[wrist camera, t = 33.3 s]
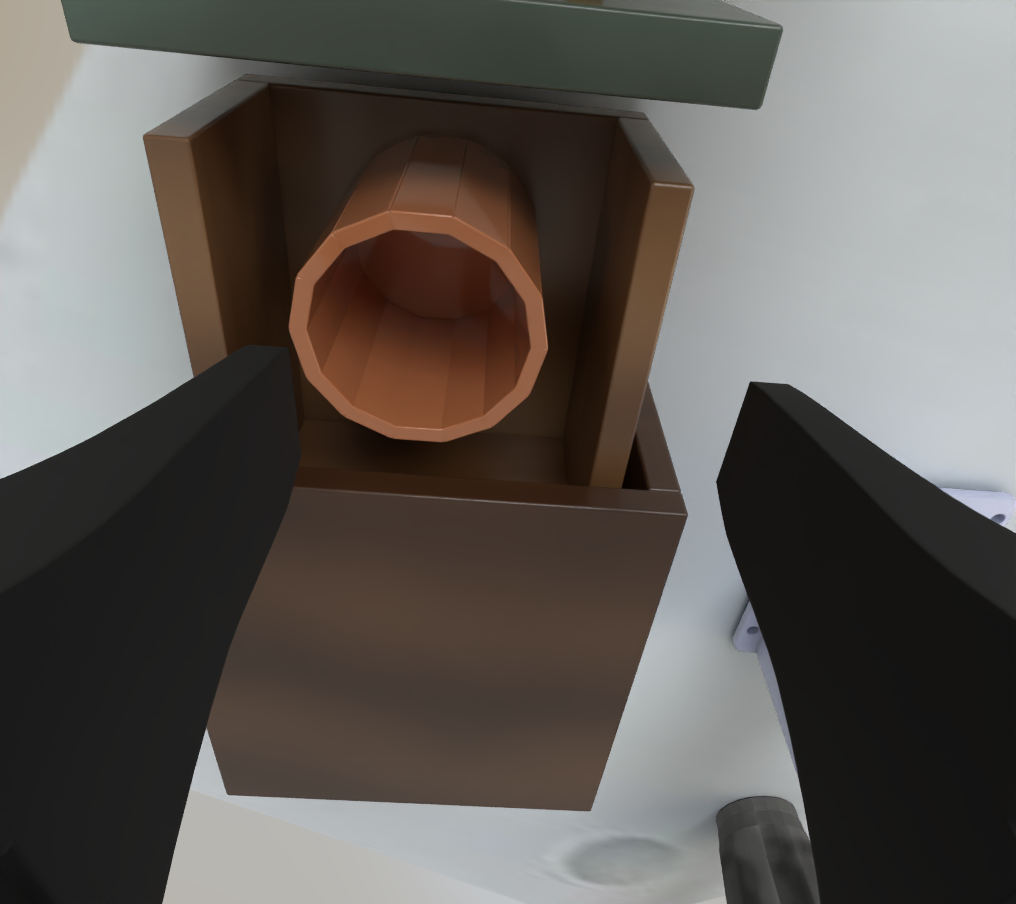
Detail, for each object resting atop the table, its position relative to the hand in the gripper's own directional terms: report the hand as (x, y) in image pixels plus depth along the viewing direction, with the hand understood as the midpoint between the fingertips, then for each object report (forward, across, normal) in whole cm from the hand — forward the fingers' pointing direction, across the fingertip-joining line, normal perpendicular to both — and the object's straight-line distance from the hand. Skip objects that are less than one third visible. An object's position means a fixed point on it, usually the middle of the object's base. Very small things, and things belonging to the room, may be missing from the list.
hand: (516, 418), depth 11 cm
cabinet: (+10, +2, +10) cm, 15 cm away
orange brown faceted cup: (+8, +2, 0) cm, 9 cm away
